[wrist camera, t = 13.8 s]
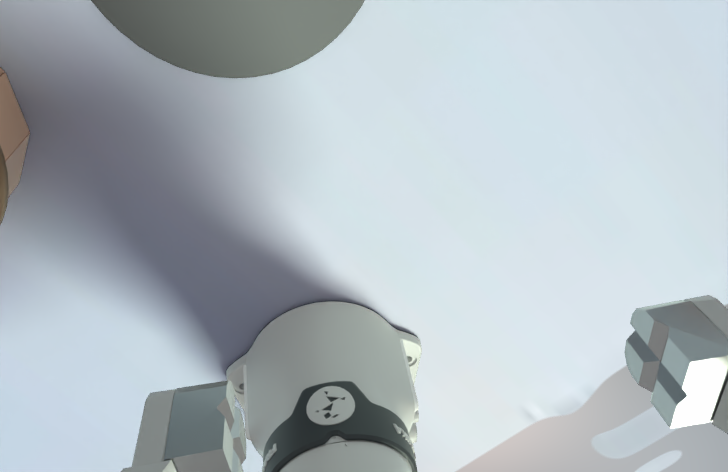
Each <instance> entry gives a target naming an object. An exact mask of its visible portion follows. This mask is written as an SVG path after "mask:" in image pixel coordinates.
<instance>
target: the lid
mask: <svg viewBox="0 0 728 472" xmlns="http://www.w3.org/2000/svg"><path fill="white" fill-rule="evenodd" d="M8 193H9V185H8V172H7V167H6V162H5V158H4V154H3V151H2V149H1V146H0V225H1V223H2V221H3V217H4V214H5V211H6V207H7V201H8Z"/></svg>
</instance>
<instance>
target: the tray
mask: <svg viewBox="0 0 728 472" xmlns="http://www.w3.org/2000/svg"><path fill="white" fill-rule="evenodd" d="M91 1H92V2H93V3H94V4H95V6H96V7H97V8H98V9H99V10H100V12H101V13H102V14H103V15H104V16H105V17H106V18H107V19H108V20H109V21H110V22H111V23H112V24H113V25H114V26H115V27H116V28H117V29H118V30H119V31H120V32H121V33H123V34H124V35H125V36H126V37H128V38H129V39H130V40H132V41H133V42H134V43H135V44H137V45H138V46H139V47H141V48H143V49H144V50H146V51H148V52H149V53H151V54H152V55H154V56H156V57H157V58H160V59H162V60H164V61H166V62H168V63H170V64H172V65H175V66H177V67H180V68H183V69H186V70H189V71H192V72H195V73H199V74H204V75H209V76H214V77H226V78H247V77H257V76H263V75H268V74H273V73H276V72H279V71H282V70H285V69H288V68H291V67H293V66H295V65H297V64H299V63H301V62H303V61H306V60H307V59H309V58H311V57H312V56H314V55H315V54H317V53H318V52H320V51H321V50H323V49H324V48H325V47H326V46H327V45H329V44H330V43H331V42H332V41H333V40H334V39H336V38H337V37H338V36H339V34H340V33H341V32H342V31H343V30H344V29H345V28H346V27H347V26H348V24H349V23H350V22H351V21H352V19H353V18H354V16H355V15H356V13H357V12H358V10H359V9H360V8H361V6H362V4H363V2H364V0H91Z"/></svg>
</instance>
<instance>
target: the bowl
mask: <svg viewBox="0 0 728 472" xmlns="http://www.w3.org/2000/svg"><path fill="white" fill-rule="evenodd" d="M3 72H5V71H4V70H3V69H2V68H0V146H1V149H2V151H3V154H4V158H5V162H6V167H7V172H8V185H9V193H8V197H9V196H10V195H11V193H12V192H13V191H14V190H15V188H16V187H17V186H18V184H19V182H20V178H21V173H22V168H23V164H24V159H25V154H26V150H27V145H28V140H29V136H30V133H29V132H30V131H29V128H28V126H27V124H26V121H25V119H24V116H23V114H22V111H21V109H20V107H19V104H18V102H17V99H16V97H15V94H14V92H13V89H12V87H11V85H10V82H9V80H8V77H7V75H6V73H3Z"/></svg>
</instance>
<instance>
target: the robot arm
mask: <svg viewBox="0 0 728 472" xmlns="http://www.w3.org/2000/svg"><path fill="white" fill-rule="evenodd" d="M630 324H631V325H632V326H633V328H634V329H635V331H634V332H633V334H632V335H631V336H630V337H629V338H628V339H627V340H626V347H625V357H626V363H627V366H628V368H629V371H630V373H631V375H632V376H633V378H634V379H635V381H636V382H637V384H638V385H640V386H641V387H643V388H645V389H647V390H649V391H651V392H652V396H651V403H652V404H653V406H654V407H655V408H656V410H657V411H658V413H659V414H660V415H661V417H662V418H663V419H664V421H665V422H666V423H667V425H668V426H669V427H670V428H677V427H683V426H689V425H695V424H701V423H706V422H712V424H713V425H714V426H716V427H717V428H719V429H721V430H722V431H724V432H725V433H727V434H728V309H727V308H726V307H725V306H724V305H723V304H722V303H721V302H720V301H719V300H717V299H716V298H715V297H712V296H710V295H706V296H701V297H695V298H690V299H685V300H679V301H674V302H669V303H663V304H658V305H653V306H647V307H642V308H637V309H636V310H635V311H634V313H633V314H632V318H631V322H630ZM421 352H422V348H421V343H420V340H419V339H418V338H417V337H415V336H414V335H411V334H409V333H406V332H403V331H399V330H397V329H395V328H393V327H392V326H391V325H390V324H389V323H388V322H387V321H386V320H384V319H383V318H382V317H381V316H380V315H378V314H377V313H375V312H373V311H372V310H370V309H367V308H365V307H362V306H359V305H356V304H352V303H346V302H334V301H332V302H318V303H312V304H308V305H304V306H300V307H298V308H295V309H292V310H290V311H288V312H286V313H284V314H282V315H280V316H279V317H277V318H276V319H274V320H273V321H272V322H270V323H269V324H268V325H267V326H266V327H265V328H264V329H263V330H262V331H261V333H260V334H259V335H258V337H257V338H256V340H255V341H254V343H253V345H252V347H251V348H250V350H249V351H248V352H247V353H246V354H245V355H244V356H242V357H241V358H239V359H238V360H237V361H235V362H234V363H233V364H232V365H231V366H229V368H228V369H227V371H226V376H227V381H223V382H216V383H209V384H203V385H196V386H189V387H183V388H177V389H173V390H167V391H160V392H153V393H150V394H149V396H148V397H147V399H146V402H145V406H144V411H143V416H142V420H141V425H140V430H139V434H138V439H137V444H136V449H135V453H134V458H133V463H132V467H129V468H124V469H123V470H122V471H121V472H243V469H242V466H241V464H242V463H243V461H244V460H245V459H246V438H247V439H248V440H251V441H252V444H253V446H254V447H255V449H256V450H257V451H258V453H259V454H260V455H261V456H262V458H263V466H262V472H417V467H416V461H415V459H416V457H415V452H414V447H413V444H412V443H415V442H416V440H417V428H416V422H418V420H419V413H418V400H417V396H416V392H415V388H414V382H415V378H416V374H417V369H418V365H419V361H420V356H421ZM407 356H409V357H407ZM242 383H244V384H242ZM235 396H236V398H237V400H238V401H239V403H240V405H241V406H242V408H243V410H244V412H245V428H244V423H243V418H242V414H241V411H240V409H239V408H237V407H235ZM245 433H246V438H245Z"/></svg>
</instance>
